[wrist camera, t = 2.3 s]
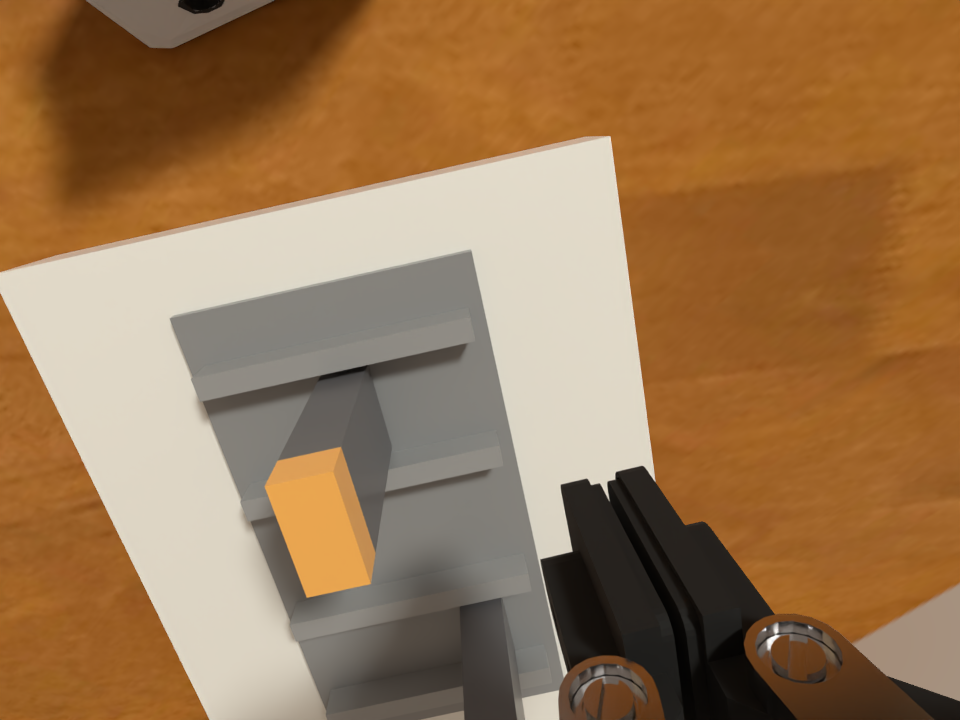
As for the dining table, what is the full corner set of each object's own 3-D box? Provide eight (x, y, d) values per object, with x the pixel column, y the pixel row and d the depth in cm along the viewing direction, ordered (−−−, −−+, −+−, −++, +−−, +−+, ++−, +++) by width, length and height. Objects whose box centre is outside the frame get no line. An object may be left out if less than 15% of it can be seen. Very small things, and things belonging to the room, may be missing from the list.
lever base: (584, 136, 23) (713, 133, 12) (656, 638, 31) (771, 900, 20) (57, 255, 23) (-273, 354, 12) (266, 721, 31) (175, 1024, 20)
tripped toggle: (367, 363, 21) (333, 471, 14) (391, 446, 22) (370, 584, 15) (321, 374, 21) (264, 486, 14) (347, 456, 22) (306, 598, 15)
